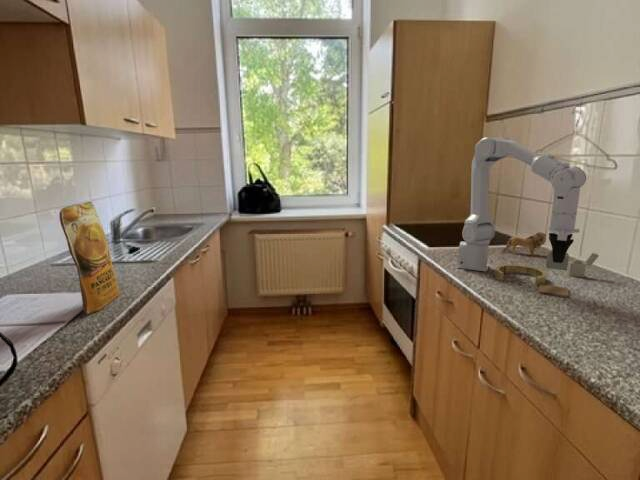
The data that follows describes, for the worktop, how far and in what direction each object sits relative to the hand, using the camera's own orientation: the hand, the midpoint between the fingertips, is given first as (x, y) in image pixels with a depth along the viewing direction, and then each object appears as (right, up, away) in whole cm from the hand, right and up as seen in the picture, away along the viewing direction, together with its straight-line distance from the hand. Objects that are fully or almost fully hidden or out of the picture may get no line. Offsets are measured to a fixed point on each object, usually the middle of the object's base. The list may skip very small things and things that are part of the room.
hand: (557, 260), depth 103 cm
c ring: (-2, -6, +15) cm, 17 cm away
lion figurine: (+14, 0, +42) cm, 44 cm away
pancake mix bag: (-129, -12, -1) cm, 129 cm away
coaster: (0, -9, +2) cm, 9 cm away
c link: (0, -2, +1) cm, 2 cm away
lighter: (+17, -6, +15) cm, 24 cm away
